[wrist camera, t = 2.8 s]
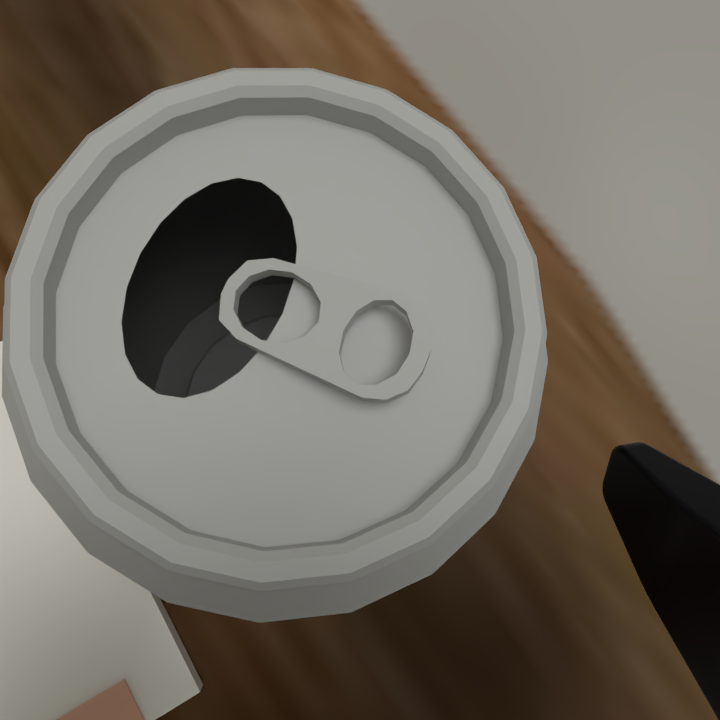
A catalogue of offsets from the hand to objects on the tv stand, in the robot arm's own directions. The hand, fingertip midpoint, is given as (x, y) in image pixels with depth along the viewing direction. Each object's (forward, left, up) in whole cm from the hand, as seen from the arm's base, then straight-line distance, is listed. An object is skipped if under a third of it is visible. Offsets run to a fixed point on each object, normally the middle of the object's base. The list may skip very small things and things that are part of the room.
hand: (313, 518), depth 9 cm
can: (+2, -1, -10) cm, 10 cm away
